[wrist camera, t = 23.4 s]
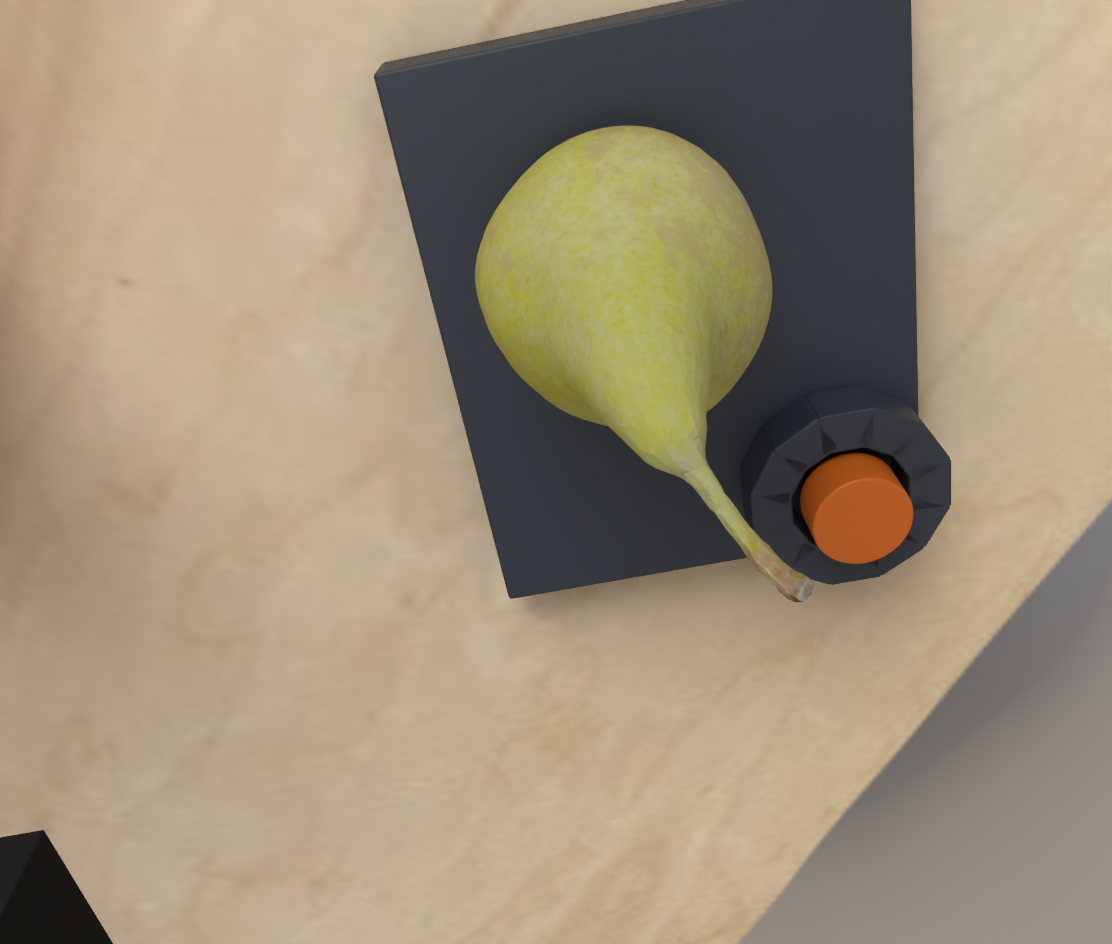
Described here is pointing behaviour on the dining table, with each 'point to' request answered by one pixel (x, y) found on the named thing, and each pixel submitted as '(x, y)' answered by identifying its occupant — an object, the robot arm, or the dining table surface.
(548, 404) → the scale
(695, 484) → the fruit
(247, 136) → the dining table surface
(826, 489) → the button
